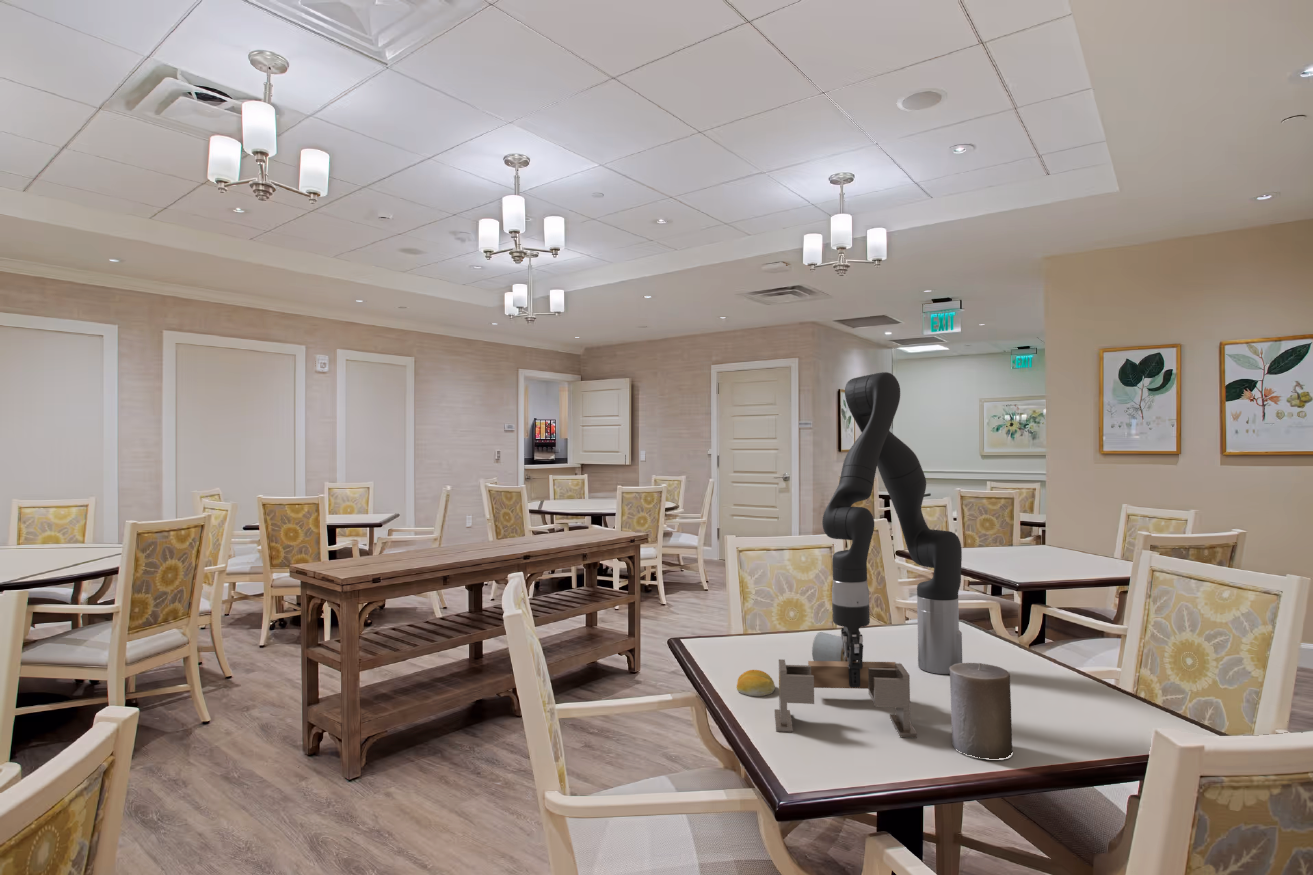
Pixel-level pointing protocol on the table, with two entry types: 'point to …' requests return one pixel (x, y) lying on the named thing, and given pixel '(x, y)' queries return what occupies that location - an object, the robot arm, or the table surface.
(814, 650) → the ceramic mug
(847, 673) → the rail
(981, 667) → the pillar candle
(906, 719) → the brackets
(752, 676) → the bread roll
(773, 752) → the table surface
